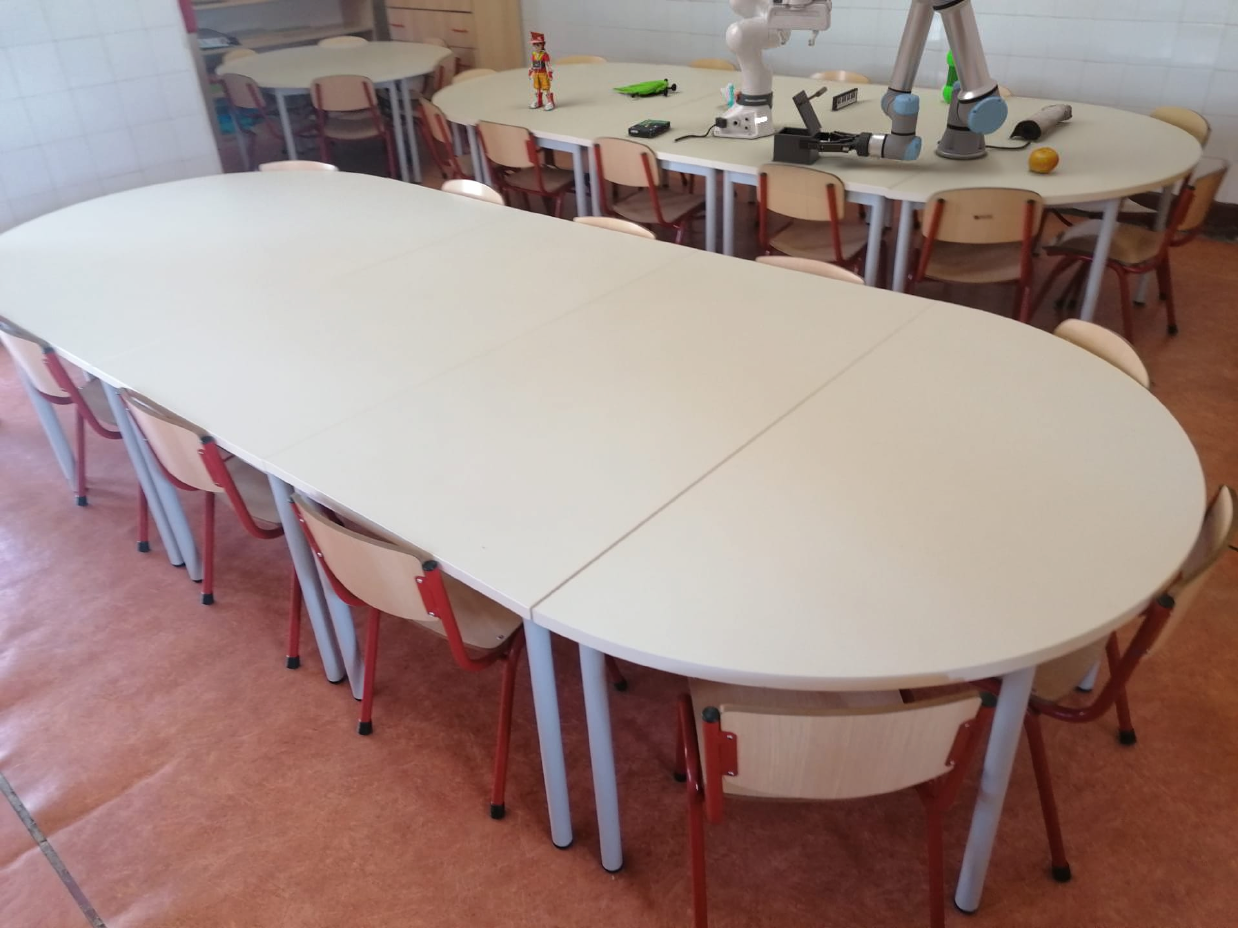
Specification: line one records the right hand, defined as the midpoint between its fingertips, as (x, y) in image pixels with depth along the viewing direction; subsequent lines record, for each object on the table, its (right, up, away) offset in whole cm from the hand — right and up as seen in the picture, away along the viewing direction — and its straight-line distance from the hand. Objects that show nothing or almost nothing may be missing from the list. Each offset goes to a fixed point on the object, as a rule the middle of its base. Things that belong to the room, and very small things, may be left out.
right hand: (804, 139), depth 299 cm
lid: (-1, +7, -5) cm, 8 cm away
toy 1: (-95, +44, +84) cm, 134 cm away
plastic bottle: (+71, +35, +55) cm, 96 cm away
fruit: (+70, -17, -20) cm, 75 cm away
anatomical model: (-15, +37, +67) cm, 78 cm away
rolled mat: (+87, +9, +17) cm, 89 cm away
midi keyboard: (+28, +35, +59) cm, 75 cm away
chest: (-2, -5, +5) cm, 7 cm away
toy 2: (-52, +56, +98) cm, 124 cm away
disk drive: (-51, +18, +42) cm, 68 cm away
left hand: (-5, +25, -14) cm, 29 cm away
